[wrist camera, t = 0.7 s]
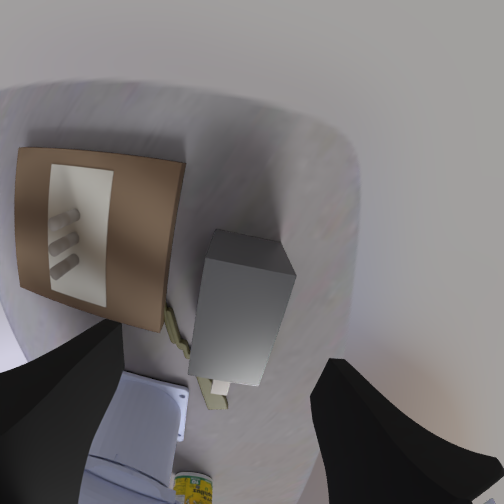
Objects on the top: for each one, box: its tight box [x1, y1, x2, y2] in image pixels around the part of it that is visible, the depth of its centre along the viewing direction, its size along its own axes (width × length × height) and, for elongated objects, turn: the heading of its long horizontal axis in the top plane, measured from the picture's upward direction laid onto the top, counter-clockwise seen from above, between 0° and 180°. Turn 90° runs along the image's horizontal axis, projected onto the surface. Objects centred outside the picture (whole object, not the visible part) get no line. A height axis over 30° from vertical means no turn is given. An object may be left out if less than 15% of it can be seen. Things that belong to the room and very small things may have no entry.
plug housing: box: [188, 229, 296, 396], centre depth 15 cm, size 9×4×5 cm, turn 167°
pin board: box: [14, 147, 186, 333], centre depth 14 cm, size 11×13×4 cm
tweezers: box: [164, 301, 228, 410], centre depth 19 cm, size 12×2×1 cm, turn 15°
